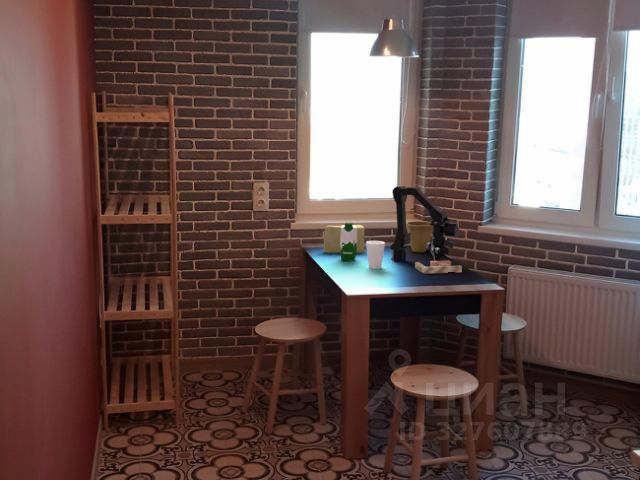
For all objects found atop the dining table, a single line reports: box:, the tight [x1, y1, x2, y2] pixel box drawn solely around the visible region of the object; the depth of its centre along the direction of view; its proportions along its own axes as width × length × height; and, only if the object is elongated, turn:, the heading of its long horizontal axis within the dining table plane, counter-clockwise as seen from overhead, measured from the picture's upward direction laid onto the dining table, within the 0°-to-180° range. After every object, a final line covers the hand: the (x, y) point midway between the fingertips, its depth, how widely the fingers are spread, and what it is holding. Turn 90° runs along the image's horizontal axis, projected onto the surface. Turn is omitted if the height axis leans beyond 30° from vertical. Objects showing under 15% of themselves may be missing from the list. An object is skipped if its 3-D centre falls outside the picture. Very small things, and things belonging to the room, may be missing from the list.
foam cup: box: [365, 240, 386, 270], centre depth 393 cm, size 10×9×13 cm
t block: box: [429, 260, 452, 267], centre depth 391 cm, size 10×10×4 cm
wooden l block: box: [414, 261, 463, 275], centre depth 390 cm, size 20×13×3 cm, turn 101°
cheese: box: [323, 224, 366, 254], centre depth 432 cm, size 22×10×15 cm, turn 99°
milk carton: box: [340, 222, 357, 262], centre depth 411 cm, size 9×9×20 cm
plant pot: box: [406, 220, 433, 253], centre depth 437 cm, size 15×15×16 cm
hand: (436, 264), depth 400 cm, fingers closed
